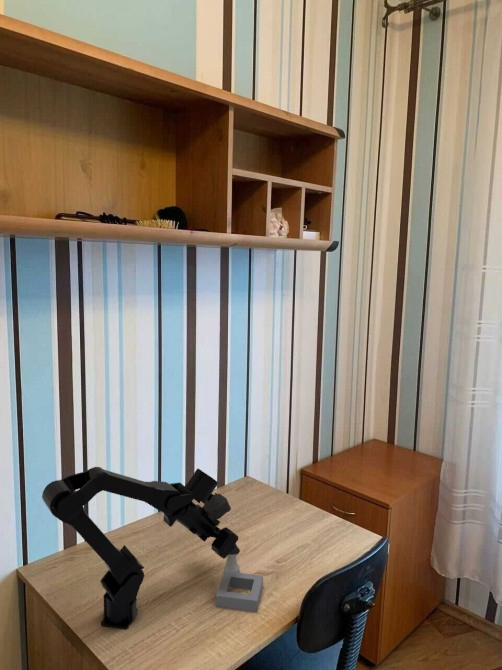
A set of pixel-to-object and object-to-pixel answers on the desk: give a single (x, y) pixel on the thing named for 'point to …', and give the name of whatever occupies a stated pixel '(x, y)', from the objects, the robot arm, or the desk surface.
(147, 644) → the desk surface
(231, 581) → the hollow square block
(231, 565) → the rook chess piece
